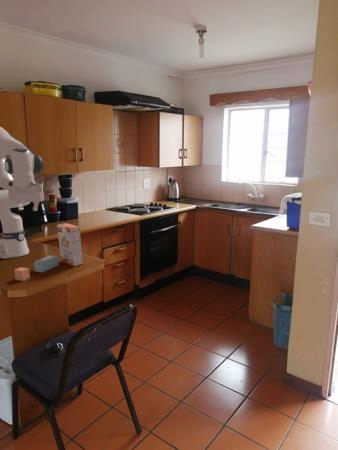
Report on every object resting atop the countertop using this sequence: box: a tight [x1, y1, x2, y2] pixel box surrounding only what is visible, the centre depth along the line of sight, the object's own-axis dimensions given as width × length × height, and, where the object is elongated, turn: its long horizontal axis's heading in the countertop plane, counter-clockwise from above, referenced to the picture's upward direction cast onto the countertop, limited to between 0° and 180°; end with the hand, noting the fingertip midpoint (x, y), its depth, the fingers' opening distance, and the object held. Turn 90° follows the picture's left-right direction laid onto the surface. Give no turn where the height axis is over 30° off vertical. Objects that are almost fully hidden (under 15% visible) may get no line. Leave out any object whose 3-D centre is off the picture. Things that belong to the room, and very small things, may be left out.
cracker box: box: [56, 222, 84, 267], centre depth 186 cm, size 14×6×21 cm, turn 45°
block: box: [14, 266, 31, 282], centre depth 167 cm, size 5×4×5 cm
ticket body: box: [33, 254, 60, 273], centre depth 181 cm, size 5×12×5 cm, turn 156°
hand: (28, 210), depth 173 cm, fingers open, 8 cm apart
